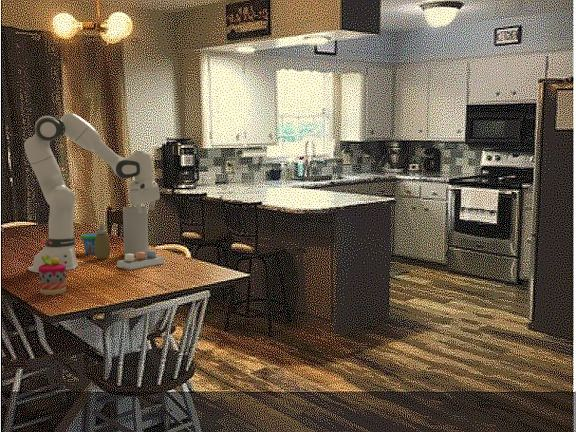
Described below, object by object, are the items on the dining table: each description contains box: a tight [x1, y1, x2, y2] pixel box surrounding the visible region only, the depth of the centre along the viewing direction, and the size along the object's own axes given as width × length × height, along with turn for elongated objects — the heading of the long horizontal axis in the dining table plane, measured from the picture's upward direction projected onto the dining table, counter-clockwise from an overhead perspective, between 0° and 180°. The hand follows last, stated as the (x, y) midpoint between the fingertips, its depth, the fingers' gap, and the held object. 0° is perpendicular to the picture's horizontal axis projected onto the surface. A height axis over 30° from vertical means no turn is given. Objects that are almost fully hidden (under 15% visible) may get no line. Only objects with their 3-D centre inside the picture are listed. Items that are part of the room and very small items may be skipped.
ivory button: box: [124, 254, 135, 262], centre depth 303 cm, size 4×4×3 cm
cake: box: [38, 255, 68, 296], centre depth 254 cm, size 10×11×15 cm
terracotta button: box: [135, 252, 146, 260], centre depth 308 cm, size 4×4×3 cm
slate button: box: [146, 249, 157, 258], centre depth 313 cm, size 4×4×3 cm
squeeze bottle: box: [94, 223, 111, 260], centre depth 324 cm, size 8×8×18 cm
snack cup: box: [80, 232, 97, 255], centre depth 337 cm, size 16×10×10 cm
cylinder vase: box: [122, 205, 149, 257], centre depth 335 cm, size 12×12×25 cm
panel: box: [116, 255, 165, 271], centre depth 308 cm, size 20×10×3 cm, turn 140°
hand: (146, 211), depth 315 cm, fingers open, 8 cm apart
